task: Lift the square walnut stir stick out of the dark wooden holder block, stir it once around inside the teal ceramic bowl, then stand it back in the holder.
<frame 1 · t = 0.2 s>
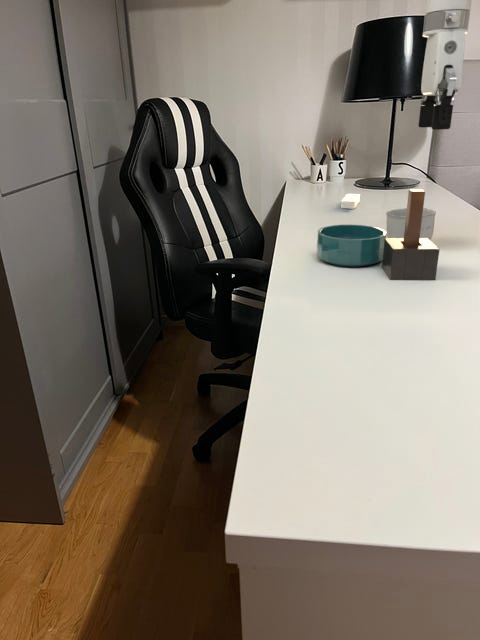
hand: (433, 128, 96), 26 cm above the table, tool pointing down, fingers open, 9 cm apart
stir stick: (412, 233, 95), in the holder
bowl: (349, 259, 108), on the table
holder: (407, 273, 98), on the table
grey oval container: (411, 244, 119), on the table
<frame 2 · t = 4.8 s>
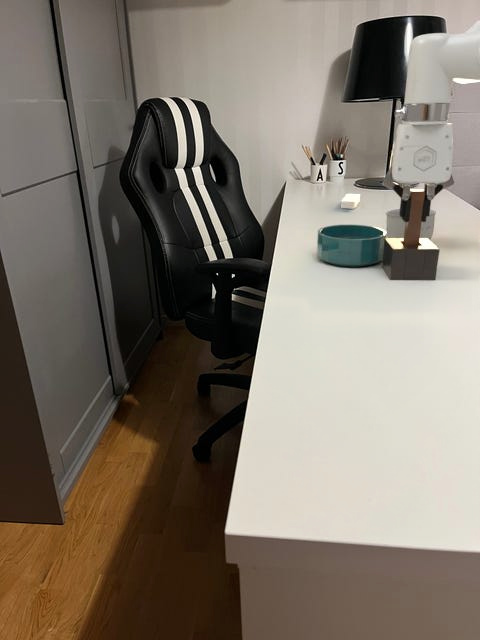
hand: (413, 219, 94), 11 cm above the table, tool pointing down, fingers closed on stir stick, 2 cm apart
stir stick: (412, 233, 95), in the holder, touching gripper
everything else where it was.
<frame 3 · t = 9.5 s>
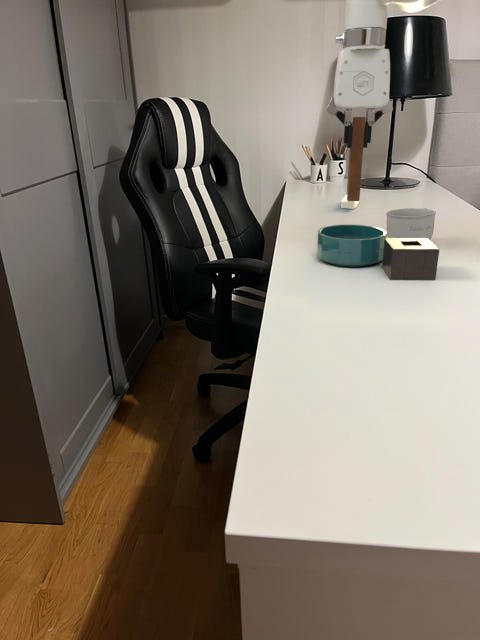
hand: (356, 146, 99), 23 cm above the table, tool pointing down, fingers closed on stir stick, 2 cm apart
stir stick: (355, 159, 100), point 21 cm above the table, touching gripper
everything else where it was.
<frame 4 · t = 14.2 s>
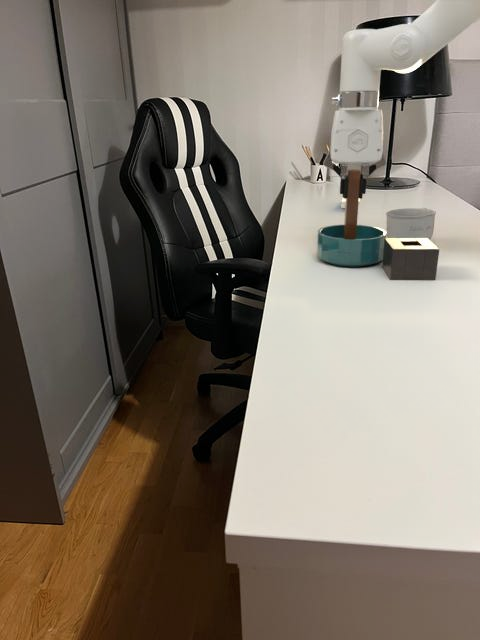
hand: (352, 196, 105), 13 cm above the table, tool pointing down, fingers closed on stir stick, 2 cm apart
stir stick: (351, 209, 106), point 10 cm above the table, touching gripper
everything else where it was.
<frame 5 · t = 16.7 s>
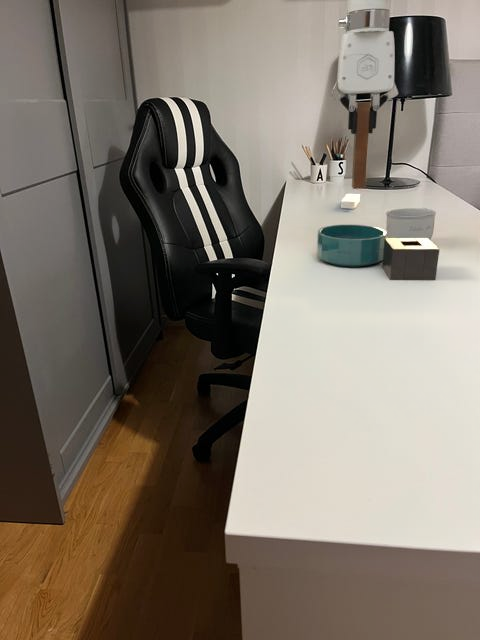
hand: (361, 132, 98), 26 cm above the table, tool pointing down, fingers closed on stir stick, 2 cm apart
stir stick: (360, 146, 99), point 23 cm above the table, touching gripper
everything else where it was.
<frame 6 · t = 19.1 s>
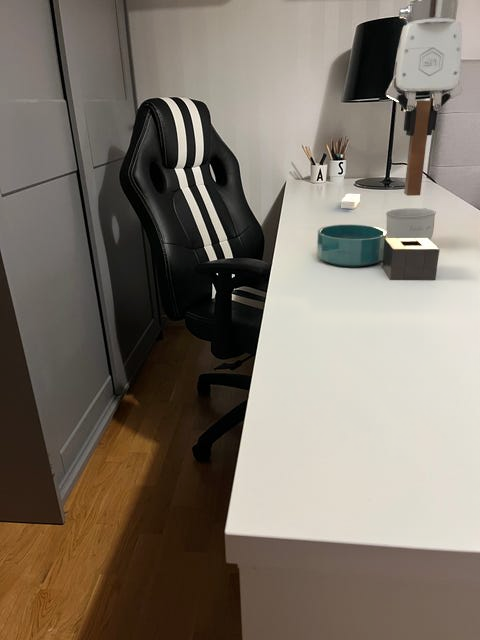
hand: (418, 134, 89), 26 cm above the table, tool pointing down, fingers closed on stir stick, 2 cm apart
stir stick: (417, 149, 90), point 23 cm above the table, touching gripper
everything else where it was.
when the fingers open (11 cm above the table, at t = 23.4 s): stir stick stays where it is, resting in holder.
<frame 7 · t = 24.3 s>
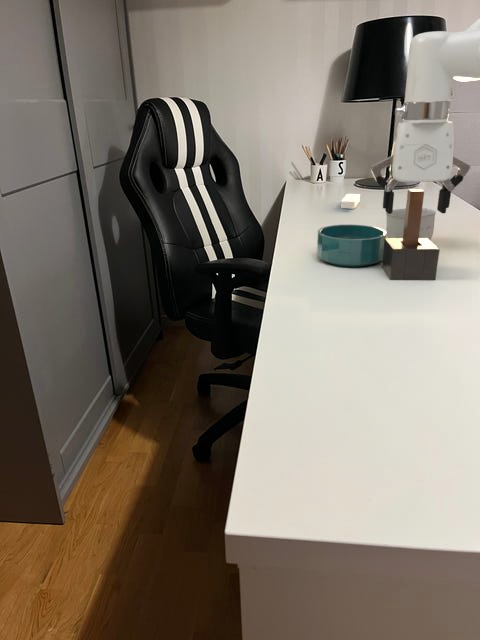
hand: (414, 212, 94), 12 cm above the table, tool pointing down, fingers open, 9 cm apart
stir stick: (411, 233, 95), in the holder
everything else where it was.
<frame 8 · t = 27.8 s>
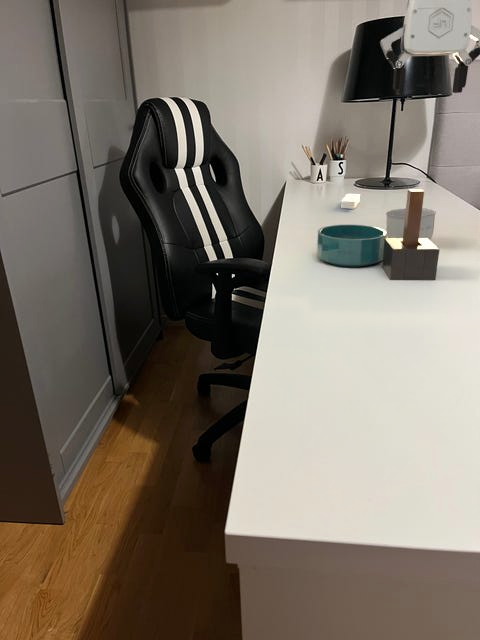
hand: (427, 93, 86), 32 cm above the table, tool pointing down, fingers open, 9 cm apart
nothing on the table moved.
at the end: stir stick 0.2 cm off-centre in the holder, point 8.0 cm above the holder's base; stir stick tilted 0°; the gripper is holding nothing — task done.
